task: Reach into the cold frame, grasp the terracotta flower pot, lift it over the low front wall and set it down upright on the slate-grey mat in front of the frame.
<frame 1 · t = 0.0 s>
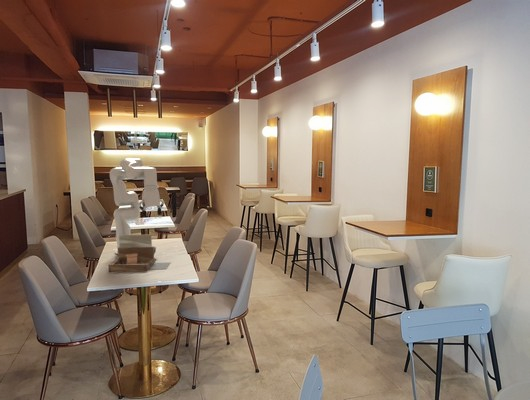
hand: (152, 215, 240), 31 cm above the table, tool pointing down, fingers open, 9 cm apart
mortar and pestle: (148, 258, 262), on the table
terracotta pot: (132, 266, 242), resting in cold frame
slate mat: (160, 266, 243), on the table
cold frame: (132, 266, 242), on the table
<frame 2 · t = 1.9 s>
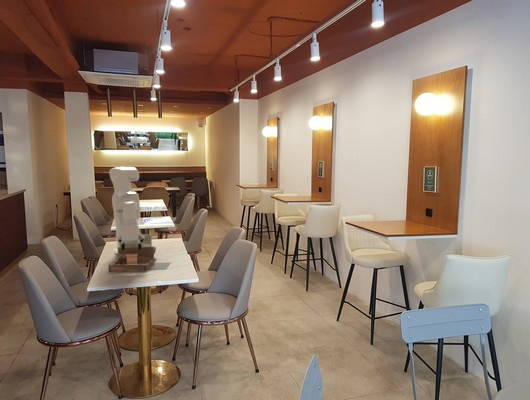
hand: (131, 249, 240), 11 cm above the table, tool pointing down, fingers open, 9 cm apart
nothing on the table moved.
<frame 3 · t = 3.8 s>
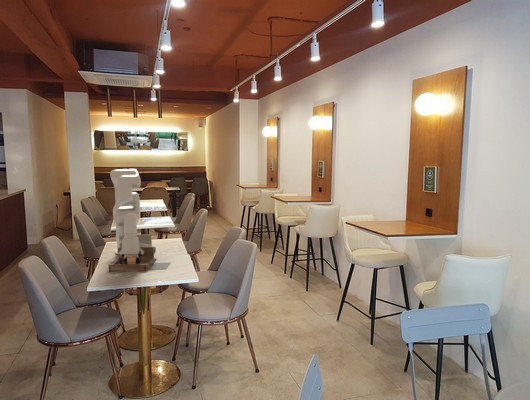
hand: (132, 264, 242), 2 cm above the table, tool pointing down, fingers closed on terracotta pot, 6 cm apart
terracotta pot: (132, 266, 242), resting in cold frame, touching gripper
everything else where it was.
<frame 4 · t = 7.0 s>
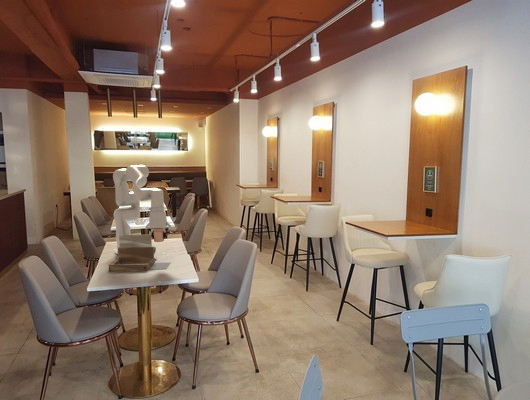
hand: (158, 238, 241), 17 cm above the table, tool pointing down, fingers closed on terracotta pot, 6 cm apart
terracotta pot: (159, 240, 241), point 16 cm above the table, touching gripper
everything else where it was.
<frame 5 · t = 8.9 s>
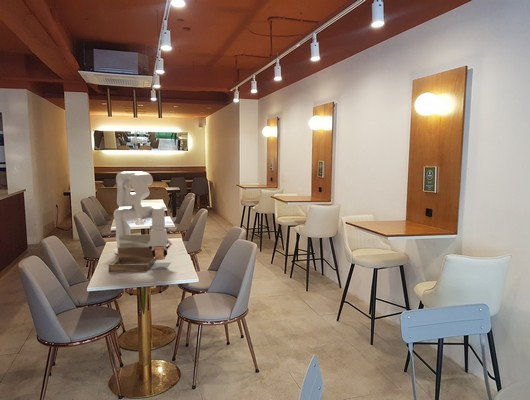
hand: (159, 256, 242), 6 cm above the table, tool pointing down, fingers closed on terracotta pot, 6 cm apart
terracotta pot: (160, 258, 242), point 5 cm above the table, touching gripper
everything else where it was.
when the fingers open (3 cm above the table, at t = 10.5 s): terracotta pot drops 1 cm, resting on slate mat.
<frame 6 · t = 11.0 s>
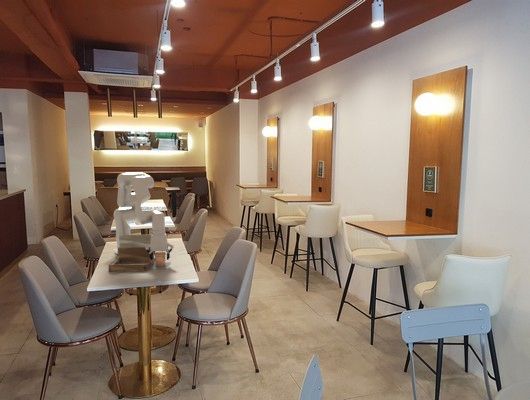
hand: (160, 259, 242), 4 cm above the table, tool pointing down, fingers open, 9 cm apart
terracotta pot: (160, 265, 243), resting on slate mat
everything else where it was.
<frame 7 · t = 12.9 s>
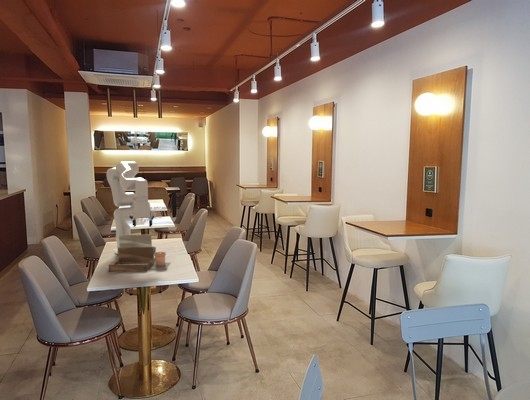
hand: (142, 226, 246), 24 cm above the table, tool pointing down, fingers open, 9 cm apart
nothing on the table moved.
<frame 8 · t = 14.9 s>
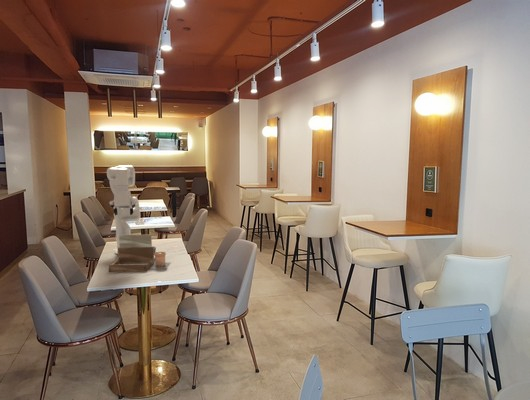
hand: (123, 214, 252), 30 cm above the table, tool pointing down, fingers open, 9 cm apart
nothing on the table moved.
at the end: terracotta pot inside the target area (0.2 cm from its centre), resting on slate mat; terracotta pot tilted 1°; the gripper is holding nothing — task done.
